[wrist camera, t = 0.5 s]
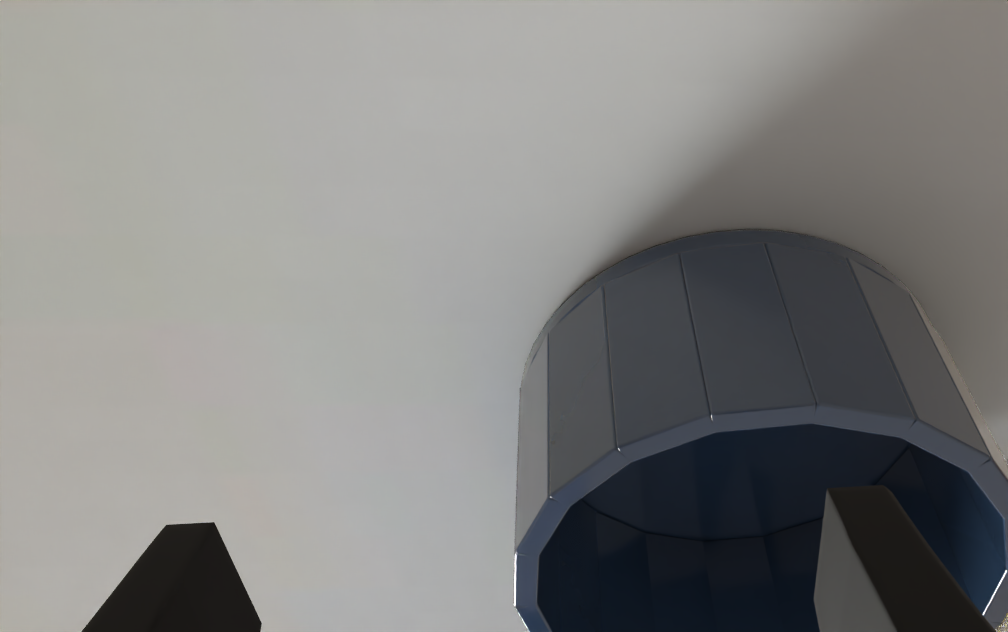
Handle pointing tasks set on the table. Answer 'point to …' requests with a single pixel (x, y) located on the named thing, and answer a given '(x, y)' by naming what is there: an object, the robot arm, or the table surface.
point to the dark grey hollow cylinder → (739, 438)
